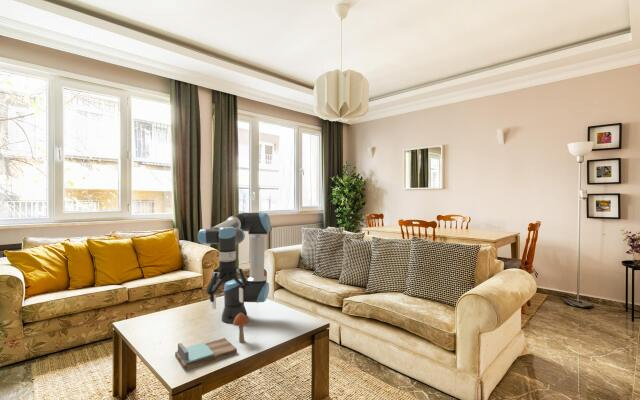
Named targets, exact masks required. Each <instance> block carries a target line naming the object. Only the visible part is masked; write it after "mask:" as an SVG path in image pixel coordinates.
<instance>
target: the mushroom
mask: <svg viewBox="0 0 640 400" xmlns="http://www.w3.org/2000/svg"><path fill="white" fill-rule="evenodd" d="M249 321H250V320H249V319H248V316H247V317H246V316H245V315H244V314H243V313H239V314H238V315H237V316H236V317H235V319H234V322H233V323H232V325H234V326H237V327H238V328H239V329H238V330H239V335H238V342H239V343H243V342H245V334H244V326H245V325H247V324H249Z"/></svg>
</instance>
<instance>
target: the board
mask: <svg viewBox="0 0 640 400" xmlns="http://www.w3.org/2000/svg"><path fill="white" fill-rule="evenodd" d="M204 343H205V344H206V345H207V346H208V348H209V349H210V350H211V351H212V352H213V353H214V355H213V356H210V357H207V358H203V359H200V360H197V361H194V362H191V363H188V364H186V363H185V361H184V360H183V358H182V357H181V356H180V354H179V353H178V352H177V351H175V353H174V354H175V355H174V356H175V359H176V360H177V362H178V363H179V364H180V366H181V367H182V369H183V370H184V371H187V370H190V369H193V368H197V367H200V366H203V365H206V364H209V363H212V362H214V361H218V360H222V359H225V358H227V357H230V356H233V355H235V354H237V353H238V348H237V347H236V346H234V344H232V343H231V341H229V340H228V339H226V337H222V338H219V339H215V340H213V341H209V342H204Z"/></svg>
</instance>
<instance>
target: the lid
mask: <svg viewBox="0 0 640 400" xmlns="http://www.w3.org/2000/svg"><path fill="white" fill-rule="evenodd" d="M205 343H206V342H201V343H197V344H193V345H190V346H186V347H185V345H184V344H183V343H182V342H180V343H179V342H178V343H177V351H176V352H178V353H179V354H180V356H181V357H182V358H183V360H184V361H185V363H186V364H188V363H191V362H194V361H197V360H200V359H203V358H207V357H210V356H213V355H214V353H213V352H212V351H211V350H210V349H209V348H208V346H207V345H206V344H205Z"/></svg>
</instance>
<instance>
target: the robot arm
mask: <svg viewBox="0 0 640 400" xmlns="http://www.w3.org/2000/svg"><path fill="white" fill-rule="evenodd" d="M271 224H272V223H271V218H270V215H269V214H268V213H267V212H239V213H236V214H234V215H231V216H229V217H227V218H226V220H225V221H223V222H221V223H219V224H216V225H215V226H212V227H211V228H202V229H199V231H198V233H197V241H198V243H199V244H204V245H219V247H218V248H219V249H218V250H219V251H218V253H219V254H218V259H219V262H218V264H219V266H218V267H219V268H218V269H219V271H218V272H217V271H216V272H215V271H212V276H211V279H210V281H209V284H208V286H207V287H206V290H205V294H207V295H209V301H210V303H211V308H212V309H213V310H217V295H216V292H217V291H218V289H220V287H221V285H222V284H223V283H224V282H225V283H224V287H223V288H224V289H223V296H224V297H223V301H224V303H223V304H224V307H223V310H222V313H221V321H222V322H224V323H228V324H233V322H234V319H235V317H236V316H237V315H238V314H239V313H243V314H244V315H245V316H246V317H247V318H248V312H247V309H246V306H245V303H256V304H258V303H264V302H266V301H267V298H268V295H269V292H270V283H269V282H267V278H266V277H265V252H266V251H265V248H266V246H265V245H266V243H265V242H266V241H265V240H266V237H267V236H268V232H271V227H272V225H271ZM245 232H248V236H249V237H250V251H249V255H250V256H249V257H250V258H249V277H248V278H247V279H246V277H245V276H244V275H245V274H244V273H243V269H242V268H240V267H238V268H237V261H236V259H237V253H236V252H237V248H236V245H238V244H241V243H242V242H243V241H244V240H245V237H246V235H245V234H246V233H245ZM236 268H237V269H236ZM236 274H237V275H238V276H239V278H238V277H237V276H236ZM217 278H218V279H217Z"/></svg>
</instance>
